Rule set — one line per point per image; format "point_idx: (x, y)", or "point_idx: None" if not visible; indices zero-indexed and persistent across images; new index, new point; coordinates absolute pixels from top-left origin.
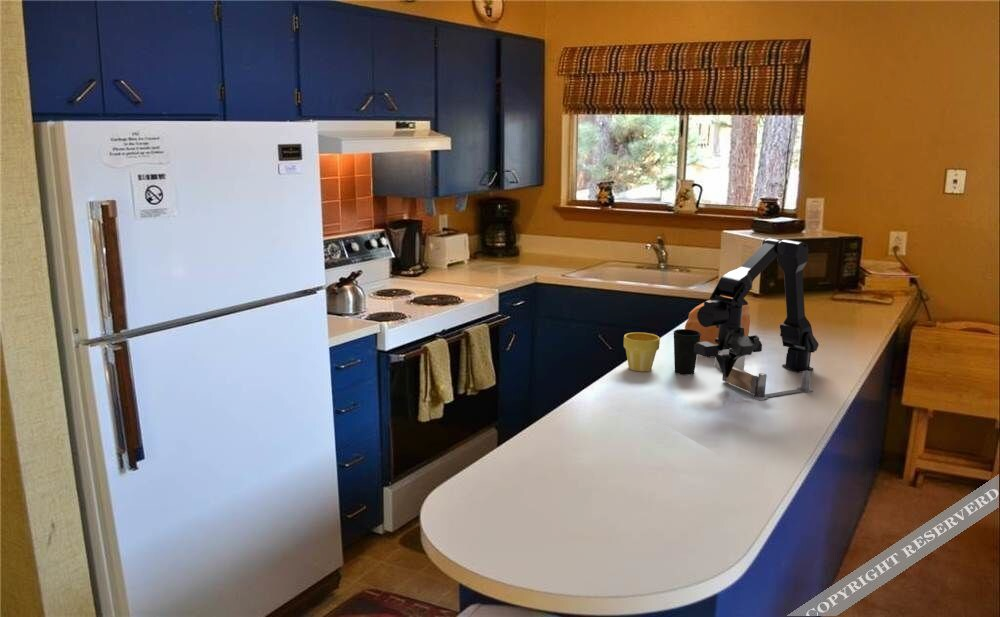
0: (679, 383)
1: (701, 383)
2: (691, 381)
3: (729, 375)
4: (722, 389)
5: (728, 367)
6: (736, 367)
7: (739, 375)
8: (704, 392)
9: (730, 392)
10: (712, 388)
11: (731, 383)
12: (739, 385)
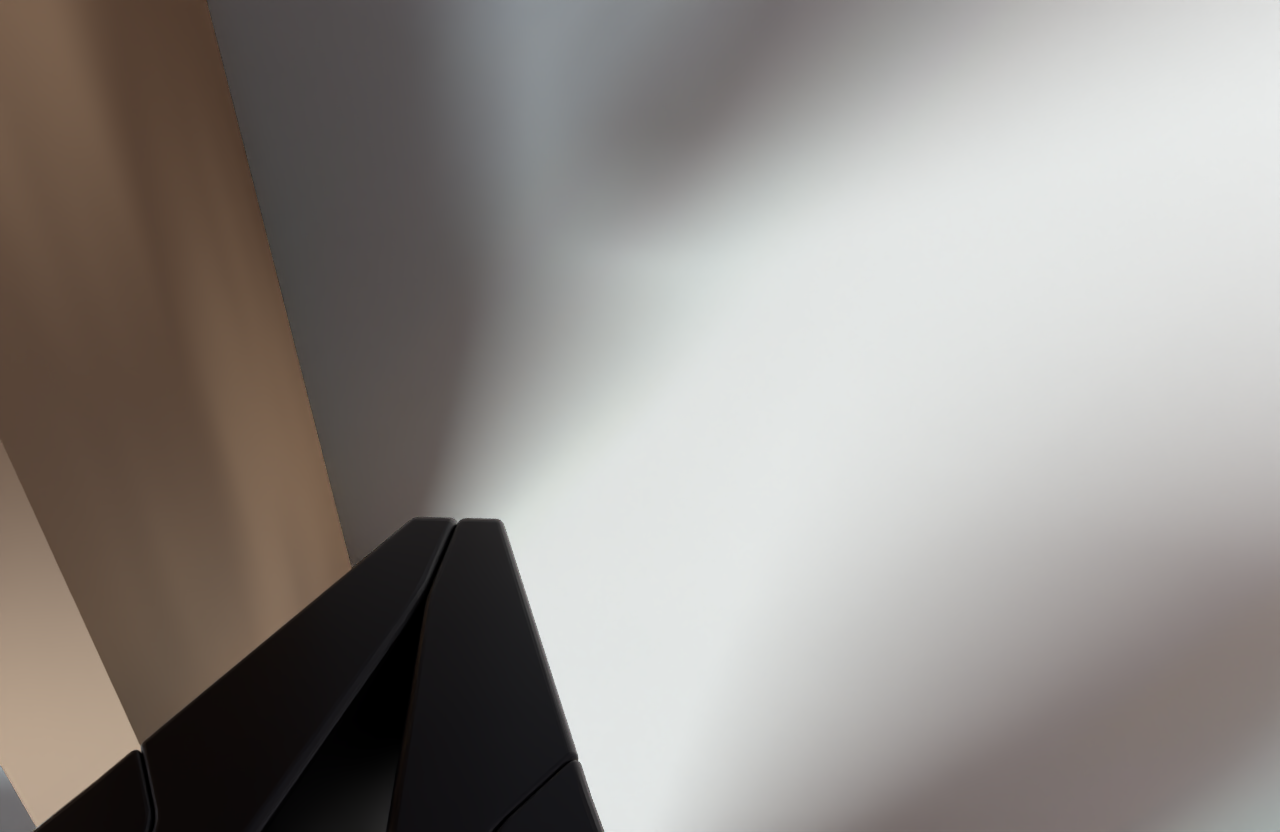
0: (1191, 786)
1: (827, 684)
2: (914, 796)
3: (270, 626)
4: (675, 283)
5: (354, 756)
6: None
7: (84, 328)
8: (1243, 255)
9: (630, 17)
10: (844, 410)
11: (310, 435)
12: (221, 174)
